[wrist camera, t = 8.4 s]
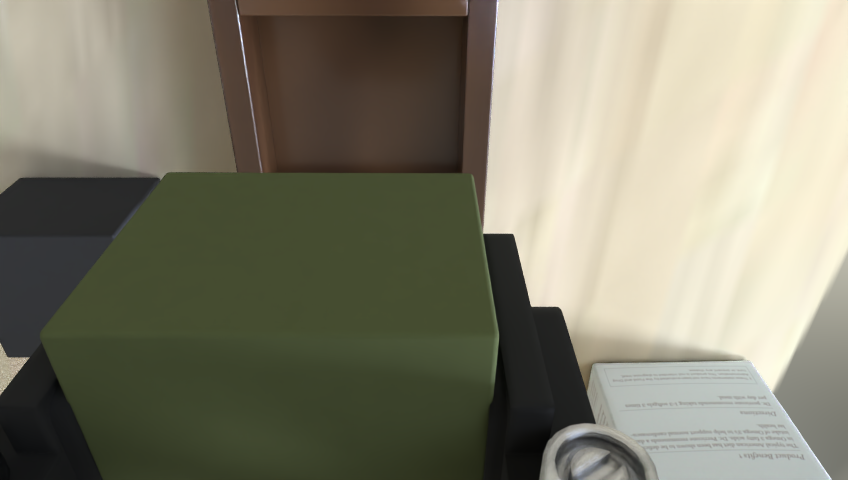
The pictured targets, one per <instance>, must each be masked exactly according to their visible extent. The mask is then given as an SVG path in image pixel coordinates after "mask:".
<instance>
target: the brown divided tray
mask: <svg viewBox="0 0 848 480" xmlns="http://www.w3.org/2000/svg"><path fill="white" fill-rule="evenodd" d="M207 2H208V8H209V13H210V19H211V25H212V31H213V36H214V42H215V48H216V53H217V59H218V65H219V71H220V76H221V82H222V88H223V93H224V99H225V105H226V110H227V116H228V122H229V128H230V133H231V139H232V145H233V150H234V156H235V162H236V168H237V173H469V174H472V175H473V177H474V182H475V189H476V195H477V201H478V207H479V213H480V220H481V226H482V232H483V226H484V211H485V195H486V180H487V165H488V150H489V135H490V120H491V105H492V90H493V75H494V59H495V44H496V29H497V14H498V0H207Z"/></svg>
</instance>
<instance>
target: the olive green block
mask: <svg viewBox="0 0 848 480" xmlns="http://www.w3.org/2000/svg"><path fill="white" fill-rule="evenodd" d="M40 340H41V342H42V344H43V347H44V349H45V351H46V354H47V356H48V358H49V360H50V363H51V365H52V367H53V370H54V372H55V374H56V376H57V379H58V381H59V383H60V386H61V388H62V390H63V392H64V395H65V397H66V399H67V402H68V403H69V404H70V405H71V408H72V410H73V412H74V415H75V417H76V419H77V422H78V424H79V426H80V428H81V431H82V433H83V435H84V438H85V440H86V442H87V444H88V447H89V449H90V451H91V454H92V456H93V458H94V461H95V463H96V465H97V467H98V470H99V472H100V474H101V477H102V479H103V480H483V475H484V463H485V452H486V441H487V430H488V419H489V408H490V404H491V403H492V401H493V397H494V386H495V375H496V365H497V354H498V344H499V331H498V325H497V319H496V313H495V306H494V300H493V294H492V288H491V282H490V275H489V269H488V263H487V257H486V251H485V244H484V238H483V232H482V226H481V220H480V213H479V207H478V201H477V195H476V189H475V182H474V177H473V175H472V174H469V173H207V172H170V173H167V174H166V175H165V176H164V177H163V179H162V180H161V181H160V182H159V184H158V185H157V186H156V187H155V189H154V190H153V191H152V192H151V194H150V195H149V196H148V197H147V199H146V200H145V201H144V202H143V204H142V205H141V206H140V207H139V209H138V210H137V211H136V212H135V214H134V215H133V216H132V217H131V219H130V220H129V221H128V222H127V224H126V225H125V226H124V227H123V229H122V230H121V231H120V233H119V234H118V235H117V236H116V238H115V239H114V240H113V241H112V243H111V244H110V245H109V246H108V248H107V249H106V250H105V251H104V253H103V254H102V255H101V256H100V258H99V259H98V260H97V261H96V263H95V264H94V265H93V266H92V268H91V269H90V270H89V271H88V273H87V274H86V275H85V276H84V278H83V279H82V280H81V281H80V283H79V284H78V285H77V286H76V288H75V289H74V290H73V291H72V293H71V294H70V295H69V296H68V298H67V299H66V300H65V301H64V303H63V304H62V305H61V306H60V308H59V309H58V310H57V311H56V313H55V314H54V315H53V317H52V318H51V319H50V320H49V322H48V323H47V324H46V325H45V327H44V328H43V329H42V330H41V332H40Z"/></svg>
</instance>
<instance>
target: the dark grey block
mask: <svg viewBox="0 0 848 480" xmlns="http://www.w3.org/2000/svg"><path fill="white" fill-rule="evenodd" d="M159 182H160V179H159V178H20V179H18V180H17V181H16V182H15V183H14V184H12V185H11V186H10V187H9V188H7V189H6V190H5V191H4V192H3V193H1V194H0V343H1V345H2V347H3V349H4V351H5V353H6V355H7V356H8V357H31V355H32V354H33V353H34V351H35V350H36V349H37V348H38V346H39V345H40V344H41V340H40V332H41V330H42V329H43V328H44V327H45V325H46V324H47V323H48V322H49V320H50V319H51V318H52V317H53V315H54V314H55V313H56V311H57V310H58V309H59V308H60V306H61V305H62V304H63V303H64V301H65V300H66V299H67V298H68V296H69V295H70V294H71V293H72V291H73V290H74V289H75V288H76V286H77V285H78V284H79V283H80V281H81V280H82V279H83V278H84V276H85V275H86V274H87V273H88V271H89V270H90V269H91V268H92V266H93V265H94V264H95V263H96V261H97V260H98V259H99V258H100V256H101V255H102V254H103V253H104V251H105V250H106V249H107V248H108V246H109V245H110V244H111V243H112V241H113V240H114V239H115V238H116V236H117V235H118V234H119V233H120V231H121V230H122V229H123V227H124V226H125V225H126V224H127V222H128V221H129V220H130V219H131V217H132V216H133V215H134V214H135V212H136V211H137V210H138V209H139V207H140V206H141V205H142V204H143V202H144V201H145V200H146V199H147V197H148V196H149V195H150V194H151V192H152V191H153V190H154V189H155V187H156V186H157V185H158V184H159Z"/></svg>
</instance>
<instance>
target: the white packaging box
mask: <svg viewBox="0 0 848 480" xmlns="http://www.w3.org/2000/svg"><path fill="white" fill-rule="evenodd" d="M587 395H588V398H589V402H590V405H591V408H592V411H593V415H594V418H595V421H596V424H599V425H604V426H607V427H610V428H613V429H616V430H619V431H621V432H622V433H624V434H626V435H627V436H629V437H631V438H632V439H634V440H635V441H636V442H637V443H638V444H639V445H640V446H641V447H642V448H643V449H645V450H646V451H647V453H648V454H649V456H650V458H651V459H652V461H653V463H654V464H655V466H656V470H657V474H658V478H659V480H831V478H830V477H829V475H828V474H827V472H826V471H825V469H824V468H823V466H822V465H821V464H820V462H819V460H818V459H817V458H816V456H815V455H814V453H813V452H812V450H811V449H810V447H809V446H808V444H807V443H806V441H805V440H804V438H803V437H802V435H801V434H800V433H799V431H798V429H797V428H796V427H795V425H794V424H793V422H792V421H791V419H790V418H789V416H788V415H787V413H786V412H785V410H784V409H783V407H782V406H781V405H780V403H779V402H778V401H777V399H776V397H775V396H774V395H773V393H772V392H771V390H770V389H769V387H768V386H767V384H766V383H765V381H764V380H763V378H762V377H761V375H760V374H759V372H758V371H757V370H756V368H755V367H754V365H753V364H752V362H751V361H748V360H745V361H708V362H655V363H595V364H593V365H592V370H591V374H590V379H589V384H588V389H587Z"/></svg>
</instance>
